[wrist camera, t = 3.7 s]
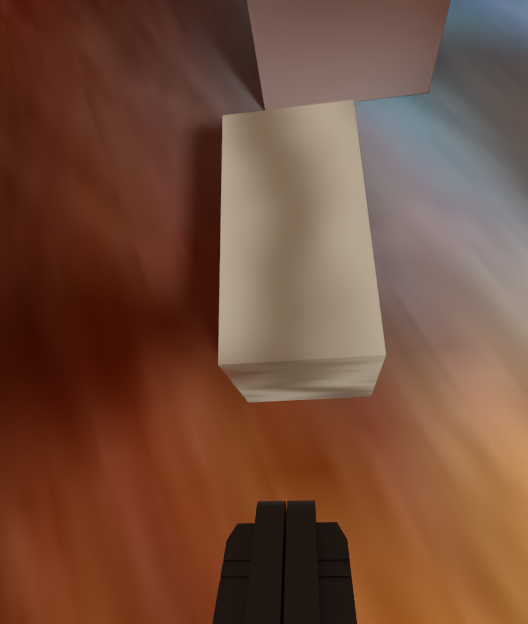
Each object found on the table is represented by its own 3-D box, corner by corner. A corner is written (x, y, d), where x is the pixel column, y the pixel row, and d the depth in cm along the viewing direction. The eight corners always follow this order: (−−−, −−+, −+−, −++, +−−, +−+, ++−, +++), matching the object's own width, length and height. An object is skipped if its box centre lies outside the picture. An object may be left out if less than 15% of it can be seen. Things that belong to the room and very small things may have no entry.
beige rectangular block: (348, 193, 32) (353, 99, 24) (370, 396, 26) (385, 355, 19) (247, 203, 32) (222, 115, 25) (248, 402, 27) (217, 364, 20)
